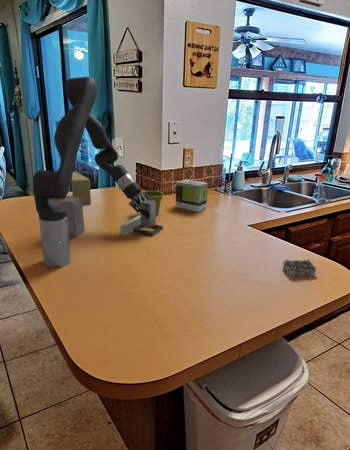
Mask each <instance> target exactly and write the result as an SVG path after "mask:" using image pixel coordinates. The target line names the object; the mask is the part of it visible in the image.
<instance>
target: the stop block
mask: <svg viewBox="0 0 350 450" xmlns="http://www.w3.org/2000/svg"><path fill="white" fill-rule="evenodd" d="M142 204H143V207H144V208H145V210H146V211H147V212H148V213H149V215H150V217H149V218H148V219H146V218H145V216H144V215H143V214H142V213H140V215H141V226H144V227H147V228H151V227H152V226H153V225H156V219H157V215H156V201H152V200H144V201H142ZM141 208H142V207H141Z"/></svg>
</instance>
